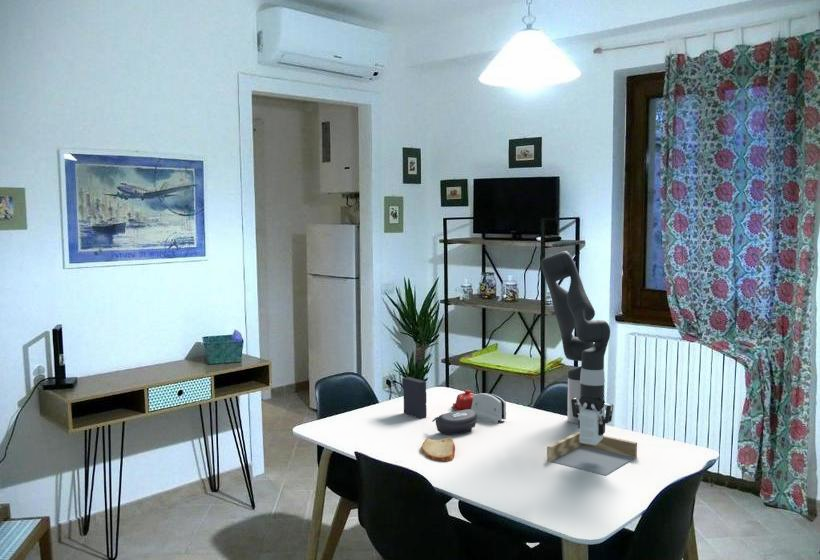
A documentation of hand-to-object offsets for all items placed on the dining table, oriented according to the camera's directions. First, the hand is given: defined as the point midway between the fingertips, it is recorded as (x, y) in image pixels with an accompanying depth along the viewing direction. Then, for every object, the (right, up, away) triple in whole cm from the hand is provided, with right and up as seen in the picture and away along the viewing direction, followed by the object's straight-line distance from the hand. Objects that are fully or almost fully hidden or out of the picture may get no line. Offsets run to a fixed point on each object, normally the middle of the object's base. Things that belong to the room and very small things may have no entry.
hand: (591, 432), depth 223 cm
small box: (0, -3, 0) cm, 3 cm away
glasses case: (-42, -7, +34) cm, 54 cm away
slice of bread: (-48, -10, +11) cm, 50 cm away
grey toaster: (-28, -6, +51) cm, 59 cm away
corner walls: (+1, -9, +2) cm, 10 cm away
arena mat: (+1, -9, +1) cm, 10 cm away
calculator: (-57, -6, +55) cm, 79 cm away
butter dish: (-35, -5, +65) cm, 74 cm away
